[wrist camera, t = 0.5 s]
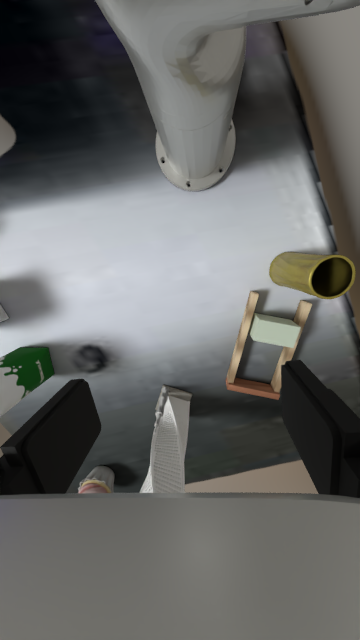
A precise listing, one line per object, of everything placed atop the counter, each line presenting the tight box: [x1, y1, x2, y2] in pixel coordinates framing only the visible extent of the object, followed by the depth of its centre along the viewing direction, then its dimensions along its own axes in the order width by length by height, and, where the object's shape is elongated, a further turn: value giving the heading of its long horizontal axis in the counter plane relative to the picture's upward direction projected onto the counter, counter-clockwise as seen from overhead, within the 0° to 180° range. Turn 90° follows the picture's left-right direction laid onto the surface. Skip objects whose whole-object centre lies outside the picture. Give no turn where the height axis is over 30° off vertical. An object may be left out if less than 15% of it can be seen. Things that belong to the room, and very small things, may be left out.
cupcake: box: [78, 466, 114, 493], centre depth 54 cm, size 9×9×10 cm
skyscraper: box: [140, 385, 192, 493], centre depth 37 cm, size 8×8×28 cm
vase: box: [269, 252, 356, 299], centre depth 32 cm, size 6×6×14 cm
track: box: [226, 291, 312, 400], centre depth 42 cm, size 20×10×3 cm, turn 170°
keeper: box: [248, 313, 301, 348], centre depth 40 cm, size 4×7×4 cm, turn 80°
